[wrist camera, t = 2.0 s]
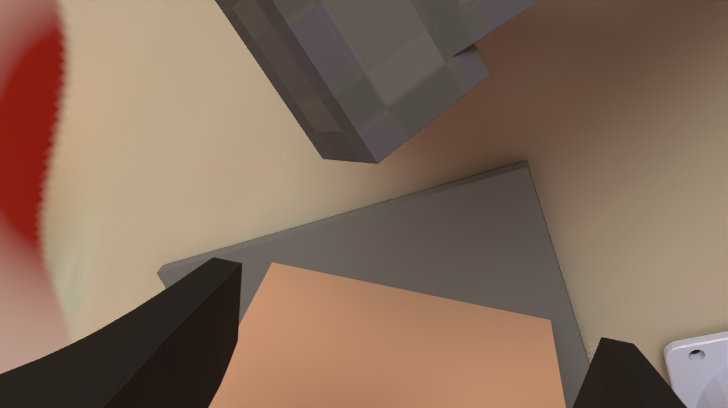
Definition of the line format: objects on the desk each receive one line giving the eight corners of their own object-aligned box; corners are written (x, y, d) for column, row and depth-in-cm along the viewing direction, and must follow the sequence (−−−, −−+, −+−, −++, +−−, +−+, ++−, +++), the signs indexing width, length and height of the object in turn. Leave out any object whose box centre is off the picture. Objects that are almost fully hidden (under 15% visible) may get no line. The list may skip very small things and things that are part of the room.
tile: (272, 262, 23) (181, 434, 16) (550, 320, 22) (586, 527, 15) (269, 295, 23) (181, 475, 16) (538, 352, 23) (568, 566, 16)
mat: (526, 160, 20) (527, 166, 20) (621, 467, 25) (624, 477, 25) (162, 265, 24) (156, 272, 24) (309, 510, 29) (306, 519, 29)
